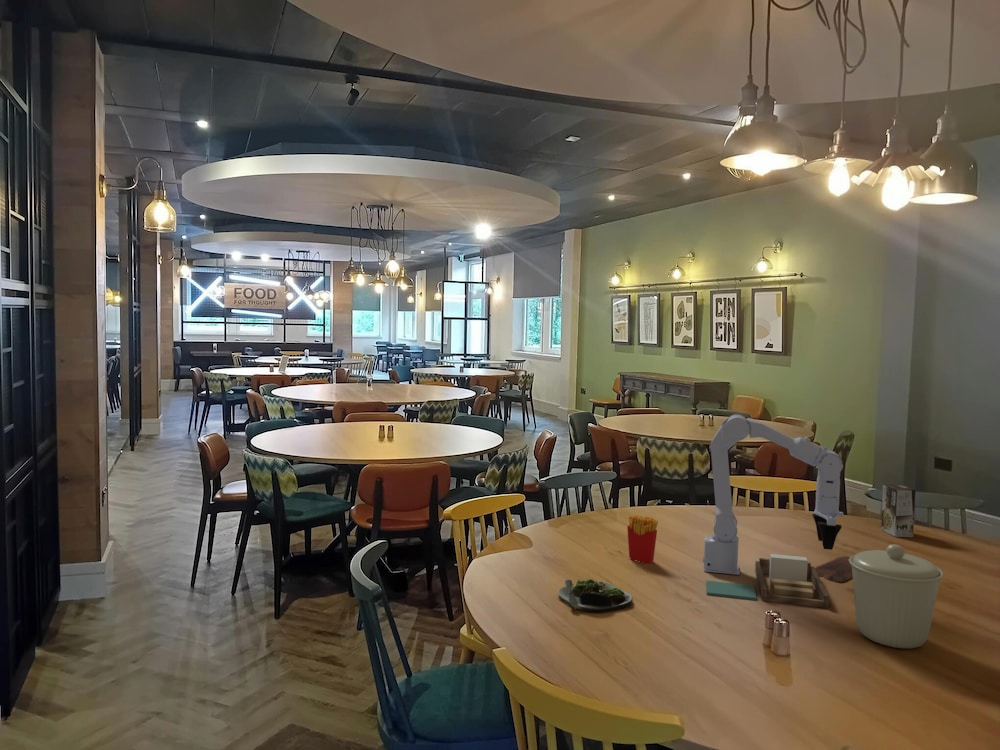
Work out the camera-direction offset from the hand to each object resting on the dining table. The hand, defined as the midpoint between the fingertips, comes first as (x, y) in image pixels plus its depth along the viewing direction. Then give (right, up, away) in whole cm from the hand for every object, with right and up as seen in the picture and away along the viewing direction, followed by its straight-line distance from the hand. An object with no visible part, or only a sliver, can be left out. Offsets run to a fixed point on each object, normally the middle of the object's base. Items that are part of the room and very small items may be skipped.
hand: (825, 544), depth 189 cm
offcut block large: (-13, -11, -9) cm, 20 cm away
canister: (-2, -12, -35) cm, 37 cm away
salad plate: (-65, -11, -15) cm, 67 cm away
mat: (-28, -10, -8) cm, 31 cm away
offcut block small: (-14, -11, -13) cm, 22 cm away
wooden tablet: (+10, -10, +11) cm, 18 cm away
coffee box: (+47, -8, +48) cm, 67 cm away
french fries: (-46, -9, +16) cm, 50 cm away
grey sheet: (-11, -10, -2) cm, 15 cm away
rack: (-12, -10, -5) cm, 17 cm away
